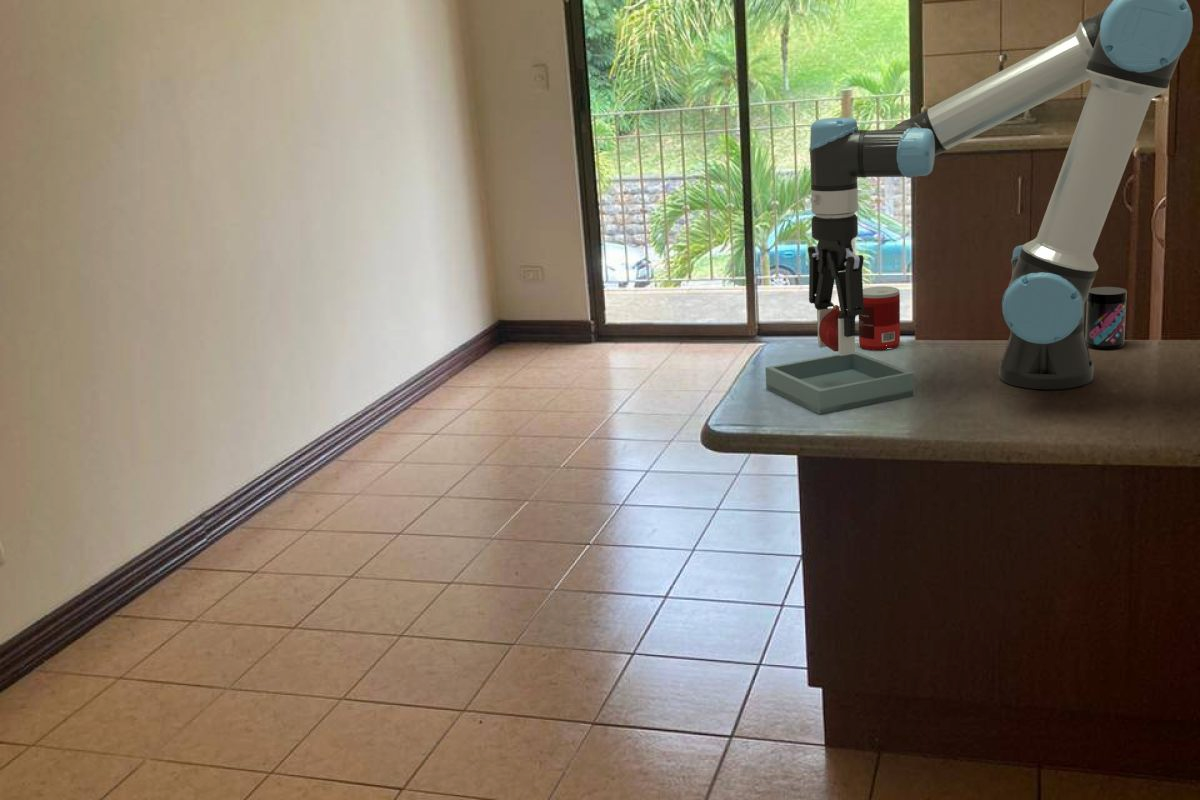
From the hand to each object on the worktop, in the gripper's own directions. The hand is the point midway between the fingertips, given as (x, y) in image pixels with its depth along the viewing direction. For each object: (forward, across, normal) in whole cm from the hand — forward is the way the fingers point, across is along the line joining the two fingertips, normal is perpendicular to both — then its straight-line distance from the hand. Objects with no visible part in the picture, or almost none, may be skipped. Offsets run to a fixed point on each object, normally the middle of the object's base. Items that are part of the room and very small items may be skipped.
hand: (836, 349), depth 206 cm
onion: (0, 0, 0) cm, 0 cm away
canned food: (+8, -22, +23) cm, 33 cm away
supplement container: (+7, +3, +55) cm, 56 cm away
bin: (+8, 0, 0) cm, 8 cm away
